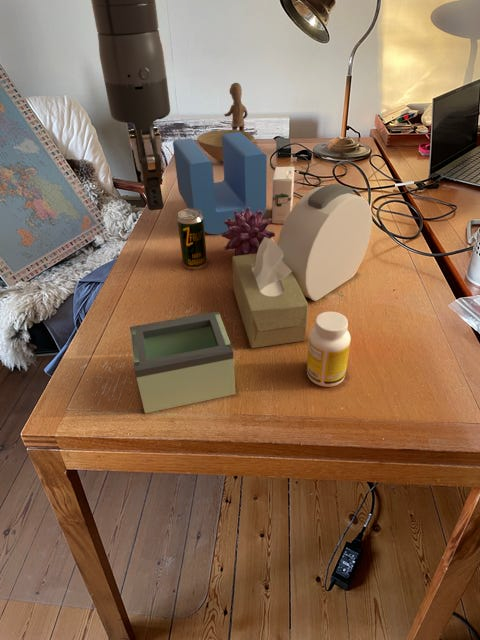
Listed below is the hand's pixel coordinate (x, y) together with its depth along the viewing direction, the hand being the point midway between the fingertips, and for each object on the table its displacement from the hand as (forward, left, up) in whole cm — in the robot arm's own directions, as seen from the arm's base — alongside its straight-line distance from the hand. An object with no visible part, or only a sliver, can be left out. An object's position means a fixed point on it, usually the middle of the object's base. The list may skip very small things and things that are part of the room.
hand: (155, 207), depth 66 cm
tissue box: (+18, +2, -25) cm, 31 cm away
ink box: (+34, +40, -25) cm, 58 cm away
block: (+19, +45, -25) cm, 55 cm away
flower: (+20, +23, -25) cm, 39 cm away
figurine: (+38, +100, -25) cm, 110 cm away
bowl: (+30, +85, -25) cm, 94 cm away
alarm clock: (+32, +9, -25) cm, 41 cm away
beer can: (+8, +24, -25) cm, 36 cm away
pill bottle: (+22, -16, -25) cm, 37 cm away
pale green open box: (0, -6, -21) cm, 21 cm away
